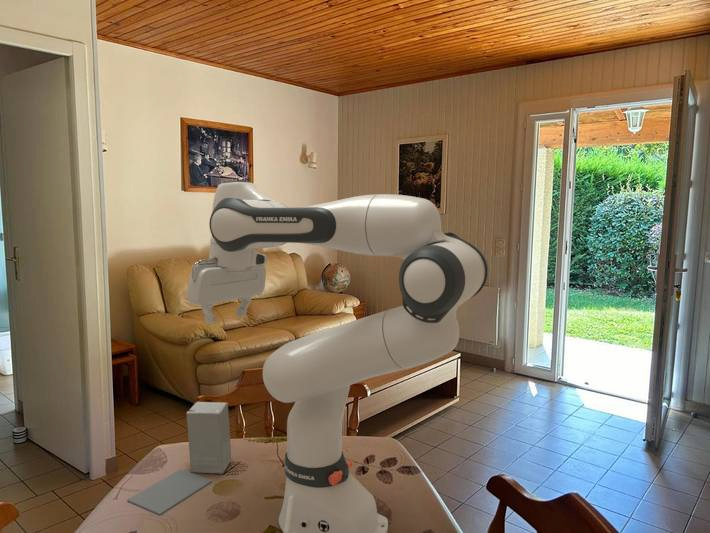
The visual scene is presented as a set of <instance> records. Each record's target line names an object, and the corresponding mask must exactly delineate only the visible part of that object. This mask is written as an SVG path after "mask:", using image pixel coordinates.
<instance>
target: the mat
mask: <svg viewBox="0 0 710 533" xmlns="http://www.w3.org/2000/svg"><path fill="white" fill-rule="evenodd" d="M211 483H213V480H212V479H209V478H207V477H204V476H201V475H198V474H197V473H193V472H191V471H187V470H185V469H182V468H179V470H177V471H175V472H173V473H171V474H170V475H168V476H166V477H164V478H162V479H161V480H159V481H158V482H156V483H154V484H152V485H150V486H149V487H146V488H145V489H143V490H142V491H140V492H138V493H136V494H135V495H133V496H132V497H129V498H128V499H126V500H127V502H128V503H130V504H133V505H135V506H137V505H138V506H137V507H139V506H140V507H139V508H141V507H142V508H141V509H144V510H146V511H149V512H151V513H153V514H156V515H157V516H162V515H163V514H165V513H166V512H168V511H170V510H171V509H173V508H174V507H175V506H177V505H179V504H181V503H182V502H184V501H185V500H187V499H189V497H191V496H193V495H194V494H196V493H197V492H199V491H200V490H202V489H204V488H205V487H207V486H208V485H210V484H211Z"/></svg>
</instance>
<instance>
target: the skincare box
mask: <svg viewBox="0 0 710 533" xmlns="http://www.w3.org/2000/svg"><path fill="white" fill-rule="evenodd" d="M229 415H230V414H229V404H228V402H222V401H220V402H218V401H215V402H213V401H212V402H211V401H196V402H195V403H194V405H193V404H192V406H191V408H190V409H189V410H187V412H186V422H187V423H186V424H187V436H188V437H187V438H188V450H189V451H188V452H189V453H188V454H189V463H190V473H193V474H197V473H199V474H224V473H225V471H226V469H227V467H228V466H229V465H230V463H231V461H232V446H231V432H230V419H229V417H230V416H229Z"/></svg>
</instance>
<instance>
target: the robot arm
mask: <svg viewBox="0 0 710 533" xmlns="http://www.w3.org/2000/svg"><path fill="white" fill-rule="evenodd" d="M208 225H209V231H210V234H211V237H210V241H209V242H210V243H209V256H208V258H206V259H204V258H200V259H198V260H197V261H196V262H195V263H194V264H193V265H192V266H191V269H190V270H191V271H190V272H191V273H190V275H189V279H188V284H187V291H186V299H187V301H188V303H189V304H192V305H195V306H200V308H201V310H202V313H203V314H204V318H203V319H204V323H205V324H208V325H210V324H211V325H212V324H214V323H216V322H217V321H216V319H217V318H216V317H217V315H216V314H214V313H213V311H212V309H214V304H216V303H217V304H218V303H222V302H227V301H228V302H229V301H233V300H241V301H240V304H239V306H238V307H236V309H235V310H236V312H235V314H236V316H237V317H240V318H241V317H246V316H247V311H248V310H247V309H249V308H248V307H249V306H250V304H251V302H252V297H255V296H260V295H262V294H263V292H264V291H265V287H266V279H267V278H266V277H267V276H266V275H267V270H266V267H265V265H266V264H267V263H268V256H267V255H266V254H264V253H261V252H258V251H257V250H256V249H258V250H259V249H271V248H272V249H273V248H277V247H280V246H281V247H282V246H283V245H285V244H288V243H293V244H305V245H311V246H316V247H322V248H327V249H332V250H336V251H337V250H338V251H342V252H346V253H350V254H351V253H352V254H356V255H364V256H374V257H395V258H400V259H403V261H402V263H401V266H400V269H399V272H398V284H399V286H398V287H399V290H400V293H401V297H402V305H400V306H397V307H394V308H393V307H392V308H390V309H386V310H384V311H380V312H377V313H374V314H371V315H368V316H365V317H361V318H358V319H355V320H351V321H349V322H347V323H343V324H341V325H337V326H333V327H327V328H323V329H320V330H318V331H315V332H313V333H310V334H307V335H305V336H303V337H300V338H296V339H295V340H292V341H289V342H286V343H285V344H283V345H282V346H280V347H278V348H277V349H276V350H275V351H274V352H272V353H271V354H270V355H269V356H268V357H267V358H266V359H265V361H264V363H263V367H262V380H263V383H264V386H265V388H266V390H267V391H268V393H269V394H270V395H271V397H273V398H274V399H275V400H277V401H279V402H281V403H285V404H289V403H294V404H293V406H292V408H291V410H290V411H289V414H288V416H287V421H286V433H287V434H286V438H287V439H286V452H285V453H284V454H285V455H284V474H285V476H286V480H285V488H284V495H283V496H284V497H283V502H282V507H281V510H280V513H279V516H278V524H279V525H278V526H279V527H280V529H281V530H282V533H388V531H389V521H388V518H387V517H385V516H384V515H382V514H380V513H378V508H377V502H376V499H375V497H374V495H373V494H372V493H371V492H370V491H368V489H367V488H366V487H364V485H362V484H361V482H360V481H359V480H358V479H356V477H355V476H354V475H353V474H352V473H350V468H351V467H353V465H354V463H353V461H354V459H351V460H349V461H348V462H347V460H346V457H345V454H344V451H343V450H342V448H343V447H342V446H343V422H344V413H345V409H346V405H347V400H348V398H349V397H348V396H349V392H350V389H351V386H352V385H353V384H357V383H361V382H363V381H365V380H369V379H373V378H376V377H381V376H384V375H387V374H391V373H396V372H397V373H398V372H401V371H404V370H408V369H413V368H416V367H419V366H422V365H425V364H428V363H430V362H433V361H434V360H435V361H436V360H438V359H439V358H442V357H443V356H446V355H448V354H449V353H451V352H452V351H453V350H454V349H455V348H456V347H457V345H458V343H459V340H460V326H459V321H458V319H457V310H458V309H459V307H460V306H461V305H464V303H465V302H466V301H468V300H469V299H471V298H473V297H475V296H476V295H478V294H479V293H480V292H481V291H482V289H483V288H484V286H485V284H486V283H487V280H488V276H489V266H488V261H487V259H486V257H485V255H484V254H483V253H482V252H481V250H479V248H477V247H476V246H475V245H473V244H472V243H470V242H468V241H466V240H464V239H463V238H461V237H459V236H458V235H456V234H455V233H453V232H451V231H450V232H443V231H442V218H441V215H440V212H439V210H438V207H437V206H436V205H435V204H434V203H433V202H432V201H431V200H430V199H429V200H428V199H426V198H423V197H418V196H417V197H416V196H411V195H403V194H390V193H388V194H387V193H382V194H380V193H379V194H376V193H375V194H364V195H358V196H357V195H356V196H352V197H347V198H342V199H338V200H332V201H328V202H323V203H318V204H314V205H313V204H312V205H308V206H300V207H288V206H286V205H285V204H283V203H282V202H278V201H276V200H274V199H272V198H271V197H268V196H267V195H265V194H264V193H262V192H261V191H260V190H259V189H258V188H257V186H256V185H255V184H254V183H253V182H251V181H247V180H227V181H224V182H223V181H222V182H221V183H219V184H218V185H217V188H216V190H215V193H214V197H213V202H212V210H211V214H210V217H209V224H208Z"/></svg>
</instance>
